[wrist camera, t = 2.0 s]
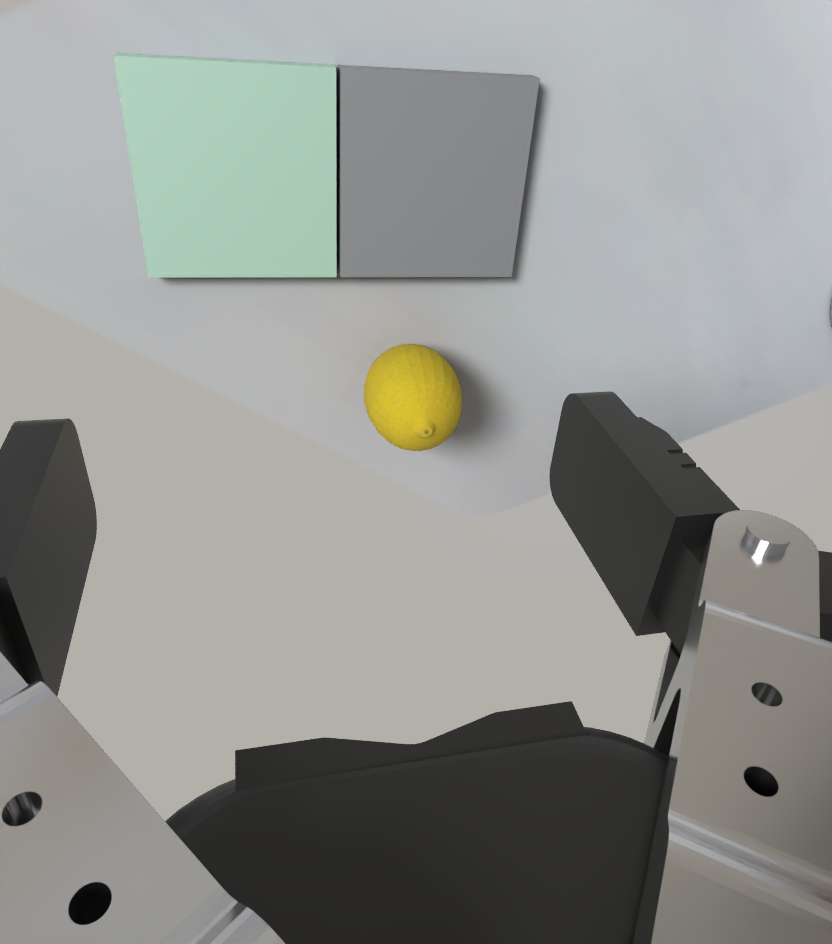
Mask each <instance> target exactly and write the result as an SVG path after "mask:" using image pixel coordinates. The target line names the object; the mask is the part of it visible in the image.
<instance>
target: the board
mask: <svg viewBox="0 0 832 944" xmlns="http://www.w3.org/2000/svg"><path fill="white" fill-rule="evenodd" d="M114 62H115V69H116V75H117V82H118V88H119V94H120V101H121V107H122V114H123V120H124V127H125V133H126V139H127V146H128V152H129V159H130V165H131V171H132V178H133V184H134V191H135V197H136V203H137V210H138V216H139V223H140V229H141V236H142V242H143V248H144V255H145V261H146V268H147V274H148V277H337V241H336V67H335V65H328V64H309V63H291V62H272V61H253V60H235V59H216V58H197V57H179V56H160V55H141V54H123V53H117V54H116V55H114ZM539 81H540V78H538V77H535V76H532V75H514V74H496V73H477V72H458V71H440V70H421V69H402V68H384V67H365V66H346V65H338V271H339V275H340V277H512V271H513V264H514V257H515V250H516V243H517V236H518V229H519V222H520V214H521V207H522V200H523V193H524V186H525V179H526V172H527V165H528V158H529V151H530V144H531V137H532V130H533V123H534V116H535V109H536V102H537V95H538V88H539Z"/></svg>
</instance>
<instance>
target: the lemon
mask: <svg viewBox="0 0 832 944" xmlns="http://www.w3.org/2000/svg"><path fill="white" fill-rule="evenodd" d="M364 402H365V406H366V409H367V413H368V416H369V418H370V420H371V422H372V423H373V425H374V426H375V428H376V429H377V431H378V432H379V433H380V435H382V436H383V437H384V438H385V439H386V440H387V441H388V442H390V443H391V444H393V445H395V446H397V447H399V448H401V449H406V450H411V451H422V450H427V449H431V448H433V447H435V446H437V445H439V444H441V443H442V442H443V441H445V440H446V439H447V438H448V437H449V436H450V435H451V434H452V432H453V431H454V430H455V428H456V426H457V424H458V422H459V419H460V415H461V410H462V393H461V387H460V384H459V381H458V379H457V376H456V373H455V371H454V370H453V369H452V367H451V366H450V364H449V363H448V362H447V360H446V359H445V358H444V357H442V356H441V355H440V354H438V353H437V352H436V351H434V350H433V349H430V348H428V347H425V346H422V345H416V344H405V345H399V346H396V347H393V348H391V349H389V350H387V351H386V352H384V353H383V354H381V355H380V356H379V357H378V358H377V359H376V360H375V361H374V363H373V365H372V366H371V368H370V370H369V371H368V374H367V378H366V381H365V385H364Z"/></svg>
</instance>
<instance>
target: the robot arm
mask: <svg viewBox="0 0 832 944" xmlns="http://www.w3.org/2000/svg"><path fill="white" fill-rule="evenodd" d="M830 317H831V325H832V301H831V310H830ZM682 451H683V450H682V448H681V447H680V446H679V445H678V444H677V443H676V442H675V441H674V440H673V438H672V437H671V436H670V435H669V434H668V433H667V432H666V431H664V430H662V429H660V428H659V427H657V426H655V425H653V424H652V423H650V422H648V421H647V420H645V419H643V418H641V417H639V418H637V417H636V416H635V415H634V414H633V413H632V411H631V410H630V409H629V408H628V407H627V406H626V405H625V404H624V403H623V402H622V400H621V399H620V398H619V397H618V396H617V395H616V394H615V393H613V392H593V393H574V394H569V395H568V396H567V397H566V399H565V401H564V403H563V407H562V411H561V416H560V421H559V426H558V432H557V437H556V442H555V447H554V452H553V457H552V462H551V467H550V487H551V492H552V496H553V498H554V501H555V503H556V505H557V507H558V508H559V510H560V511H561V513H562V515H563V516H564V518H565V520H566V521H567V523H568V525H569V526H570V528H571V530H572V531H573V533H574V534H575V536H576V538H577V539H578V541H579V543H580V544H581V546H582V547H583V549H584V551H585V552H586V554H587V556H588V557H589V559H590V561H591V562H592V564H593V566H594V567H595V569H596V571H597V572H598V574H599V576H600V577H601V579H602V580H603V582H604V583H605V585H606V587H607V589H608V590H609V592H610V594H611V595H612V597H613V599H614V600H615V602H616V603H617V605H618V606H619V608H620V610H621V612H622V613H623V615H624V617H625V618H626V620H627V622H628V623H629V625H630V626H631V628H632V630H633V631H634V633H635V635H636V636H639V635H646V634H654V633H662V632H666V634H667V635H668V637H669V638H670V643H669V645H668V648H667V651H666V653H665V656H664V660H663V665H662V669H661V673H660V678H659V682H658V687H657V691H656V695H655V699H654V704H653V708H652V713H651V717H650V721H649V725H648V729H647V734H646V738H645V742H644V743H641V742H639V741H636V740H634V739H632V738H629V737H626V736H623V735H619V734H616V733H613V732H609V731H605V730H599V729H594V728H588V727H583V725H582V723H581V721H580V718H579V716H578V714H577V712H576V710H575V707H574V705H573V703H572V702H564V703H557V704H550V705H543V706H536V707H530V708H523V709H516V710H510V711H503V712H496V713H493V714H490V715H488V716H486V717H483V718H481V719H478V720H476V721H474V722H471V723H469V724H466V725H464V726H461V727H459V728H457V729H454V730H452V731H449V732H447V733H445V734H443V735H440V736H437V737H435V738H433V739H430V740H428V741H426V742H422V743H419V744H397V743H396V744H395V743H384V742H372V741H360V740H359V741H358V740H348V739H336V738H318V739H311V740H304V741H297V742H291V743H284V744H277V745H270V746H263V747H257V748H250V749H243V750H236V751H235V757H236V759H235V761H236V762H235V766H236V767H235V769H236V771H235V776H236V778H235V780H232V781H229V782H227V783H224V784H222V785H219V786H217V787H216V788H214V789H212V790H210V791H208V792H207V793H204V794H203V795H201V796H199V797H197V798H196V799H194V800H193V801H191V802H190V803H188V804H187V805H185V806H184V807H182V808H181V809H179V810H178V811H177V812H176V813H175V814H173V815H172V816H171V817H170V818H169V819H167V820H166V821H164V820H163V819H162V818H161V816H160V815H159V814H158V813H157V812H156V811H155V809H154V808H153V807H152V806H151V805H150V804H149V802H148V801H147V800H146V799H145V798H144V797H143V796H142V794H141V793H140V792H139V791H138V790H137V789H136V787H135V786H134V785H133V784H132V783H131V782H130V781H129V779H128V778H127V777H126V776H125V775H124V774H123V772H122V771H121V770H120V769H119V768H118V767H117V766H116V764H115V763H114V762H113V761H112V760H111V759H110V757H108V755H107V754H106V753H105V752H104V751H103V750H102V748H101V747H100V746H99V745H98V744H97V743H96V741H95V740H94V739H93V738H92V737H91V736H90V734H89V733H88V732H87V731H86V730H85V729H84V727H83V726H82V725H81V724H80V723H79V722H78V721H77V719H75V717H74V716H73V715H72V714H71V713H70V711H69V710H68V709H67V708H66V707H65V706H64V704H63V703H62V702H61V701H60V700H59V699H58V698H57V695H58V691H59V687H60V683H61V679H62V675H63V671H64V667H65V662H66V658H67V654H68V650H69V646H70V642H71V638H72V634H73V630H74V626H75V622H76V617H77V613H78V609H79V605H80V601H81V597H82V593H83V589H84V585H85V581H86V577H87V572H88V569H89V564H90V560H91V556H92V552H93V548H94V544H95V539H96V529H97V522H96V520H97V519H96V509H95V502H94V498H93V494H92V490H91V486H90V482H89V478H88V474H87V470H86V466H85V462H84V458H83V454H82V450H81V446H80V442H79V438H78V434H77V431H76V428H75V425H74V423H73V422H72V420H70V419H51V420H32V421H17V422H15V423H13V425H12V427H11V429H10V431H9V433H8V435H7V437H6V439H5V441H4V443H3V445H2V447H1V449H0V944H832V553H830V552H823V551H818V550H817V547H816V545H815V544H814V543H813V541H812V540H811V539H810V538H809V537H808V536H807V535H806V534H805V533H804V532H803V531H801V530H800V529H799V528H797V527H796V526H794V525H793V524H791V523H789V522H787V521H785V520H783V519H780V518H778V517H775V516H772V515H769V514H766V513H762V512H756V511H748V510H740V509H739V508H738V507H737V506H736V505H735V504H734V503H733V502H732V501H731V500H730V499H729V498H728V497H727V496H726V495H725V493H724V492H723V491H722V490H721V489H720V488H719V487H718V486H717V485H716V484H715V483H714V482H713V481H712V480H711V479H710V478H709V477H708V475H707V474H706V473H705V472H704V471H703V470H702V469H701V468H700V467H696V463H695V462H694V461H693V460H692V459H691V458H690V456H689V455H688V454H687V453H683V452H682Z"/></svg>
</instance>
